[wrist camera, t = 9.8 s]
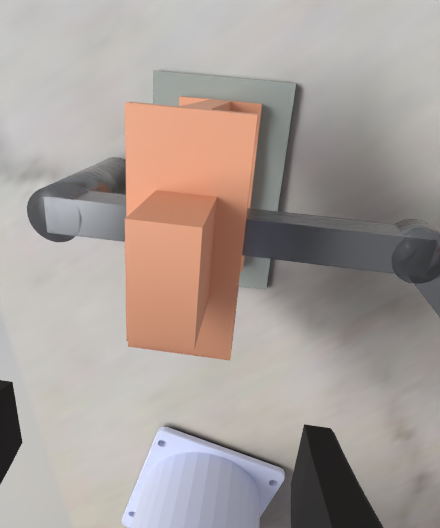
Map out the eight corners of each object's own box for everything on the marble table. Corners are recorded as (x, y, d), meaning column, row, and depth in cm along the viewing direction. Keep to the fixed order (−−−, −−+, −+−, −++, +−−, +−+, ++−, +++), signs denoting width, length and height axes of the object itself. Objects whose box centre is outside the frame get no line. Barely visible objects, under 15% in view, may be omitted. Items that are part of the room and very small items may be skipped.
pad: (295, 83, 16) (296, 83, 16) (266, 286, 19) (266, 289, 19) (155, 70, 16) (153, 70, 16) (152, 272, 20) (150, 275, 20)
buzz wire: (520, 411, 21) (606, 522, 15) (80, 245, 20) (11, 304, 14) (636, 287, 18) (794, 373, 12) (118, 82, 16) (46, 80, 11)
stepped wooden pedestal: (262, 103, 16) (254, 124, 7) (243, 266, 19) (221, 422, 10) (182, 96, 16) (80, 107, 7) (175, 258, 19) (97, 403, 10)
